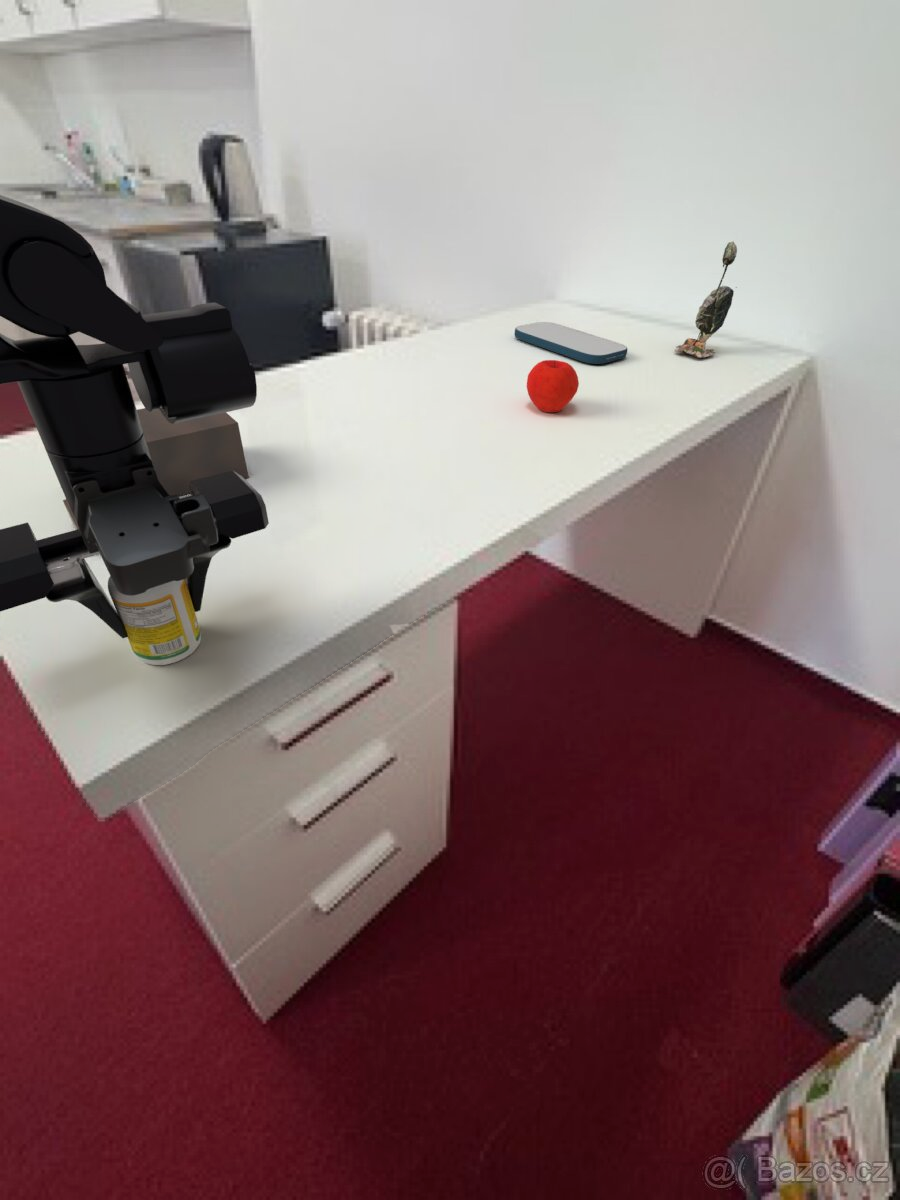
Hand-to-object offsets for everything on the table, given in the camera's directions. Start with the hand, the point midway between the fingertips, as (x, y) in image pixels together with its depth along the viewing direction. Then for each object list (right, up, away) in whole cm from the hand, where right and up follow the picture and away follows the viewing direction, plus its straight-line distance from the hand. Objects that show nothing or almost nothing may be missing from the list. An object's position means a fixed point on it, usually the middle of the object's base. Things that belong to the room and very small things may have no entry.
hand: (160, 621), depth 48 cm
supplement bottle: (0, -2, +2) cm, 3 cm away
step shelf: (-10, +14, +21) cm, 27 cm away
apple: (+39, +32, +46) cm, 68 cm away
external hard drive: (+47, +53, +73) cm, 102 cm away
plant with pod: (+74, +52, +73) cm, 116 cm away
